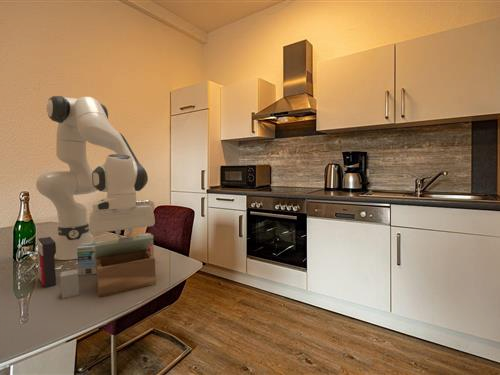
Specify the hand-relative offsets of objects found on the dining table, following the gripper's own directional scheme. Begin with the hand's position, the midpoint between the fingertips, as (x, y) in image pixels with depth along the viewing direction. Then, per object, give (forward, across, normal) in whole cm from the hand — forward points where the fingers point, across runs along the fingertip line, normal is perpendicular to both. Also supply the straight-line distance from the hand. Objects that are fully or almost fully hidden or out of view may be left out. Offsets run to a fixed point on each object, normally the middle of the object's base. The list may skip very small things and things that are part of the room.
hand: (124, 242), depth 92 cm
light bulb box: (+14, +8, -20) cm, 26 cm away
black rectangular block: (+14, +23, -18) cm, 33 cm away
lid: (+2, 0, 0) cm, 2 cm away
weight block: (+14, +16, -2) cm, 22 cm away
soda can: (+14, -10, -19) cm, 26 cm away
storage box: (+14, 0, 0) cm, 15 cm away
